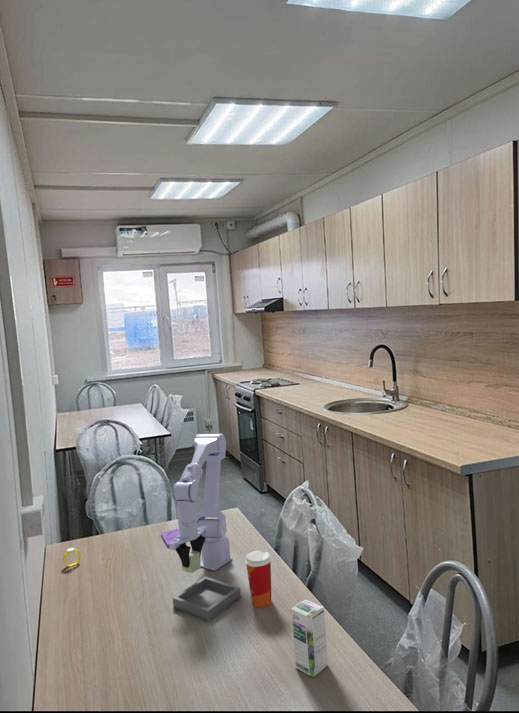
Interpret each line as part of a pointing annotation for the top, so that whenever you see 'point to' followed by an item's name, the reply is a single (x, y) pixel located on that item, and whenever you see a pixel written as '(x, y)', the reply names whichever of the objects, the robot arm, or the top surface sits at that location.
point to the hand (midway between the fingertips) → (191, 563)
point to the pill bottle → (259, 577)
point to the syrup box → (309, 637)
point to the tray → (206, 598)
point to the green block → (193, 562)
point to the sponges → (169, 536)
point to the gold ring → (71, 552)
